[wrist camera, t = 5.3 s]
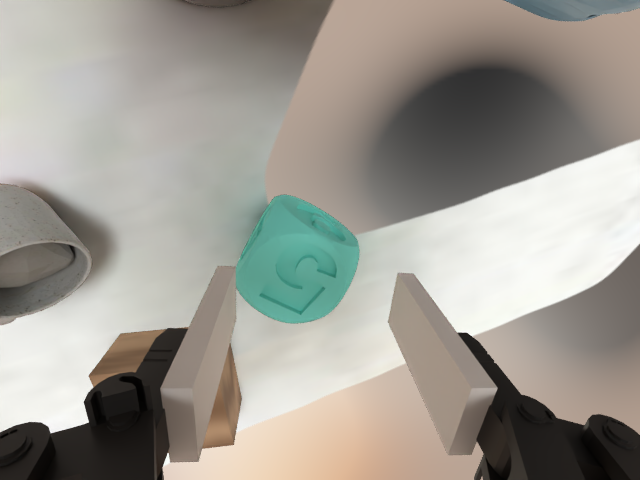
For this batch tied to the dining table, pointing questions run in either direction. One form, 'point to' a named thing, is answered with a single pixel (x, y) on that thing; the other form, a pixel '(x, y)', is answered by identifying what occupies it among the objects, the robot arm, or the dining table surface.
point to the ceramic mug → (36, 255)
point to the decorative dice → (296, 262)
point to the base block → (228, 398)
